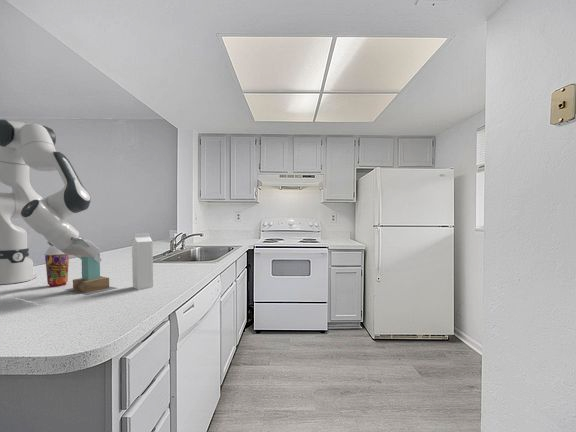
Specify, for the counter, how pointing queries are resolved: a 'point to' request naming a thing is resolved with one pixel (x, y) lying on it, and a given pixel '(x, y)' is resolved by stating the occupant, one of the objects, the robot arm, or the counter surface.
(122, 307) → the counter surface
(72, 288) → the mat
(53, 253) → the smoothie
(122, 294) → the counter surface
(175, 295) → the counter surface
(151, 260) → the milk
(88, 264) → the pillar
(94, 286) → the base slab
